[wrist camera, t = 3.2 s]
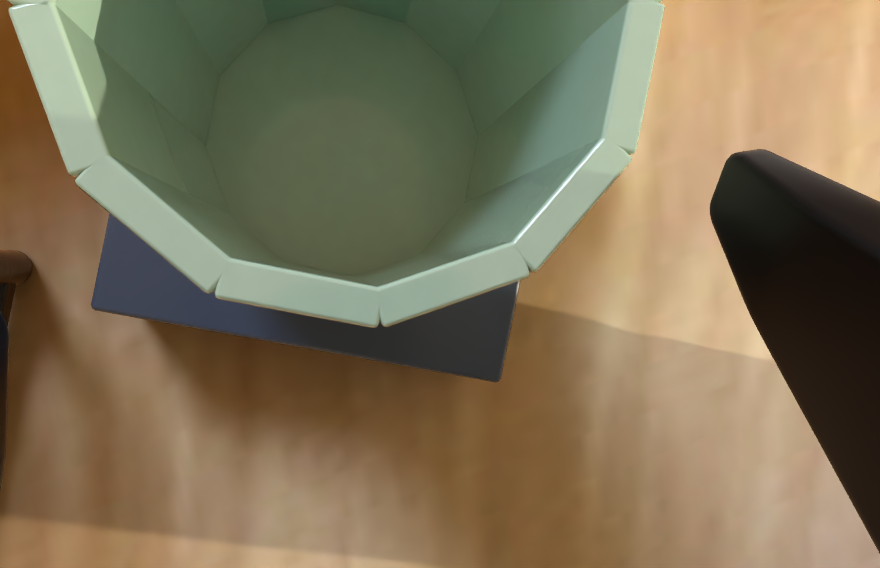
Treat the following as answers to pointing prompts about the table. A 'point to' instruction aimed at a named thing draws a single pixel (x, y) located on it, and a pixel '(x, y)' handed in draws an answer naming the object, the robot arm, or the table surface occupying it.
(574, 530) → the table surface
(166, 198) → the tumbler
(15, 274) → the rack
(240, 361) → the table surface
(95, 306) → the shelf
